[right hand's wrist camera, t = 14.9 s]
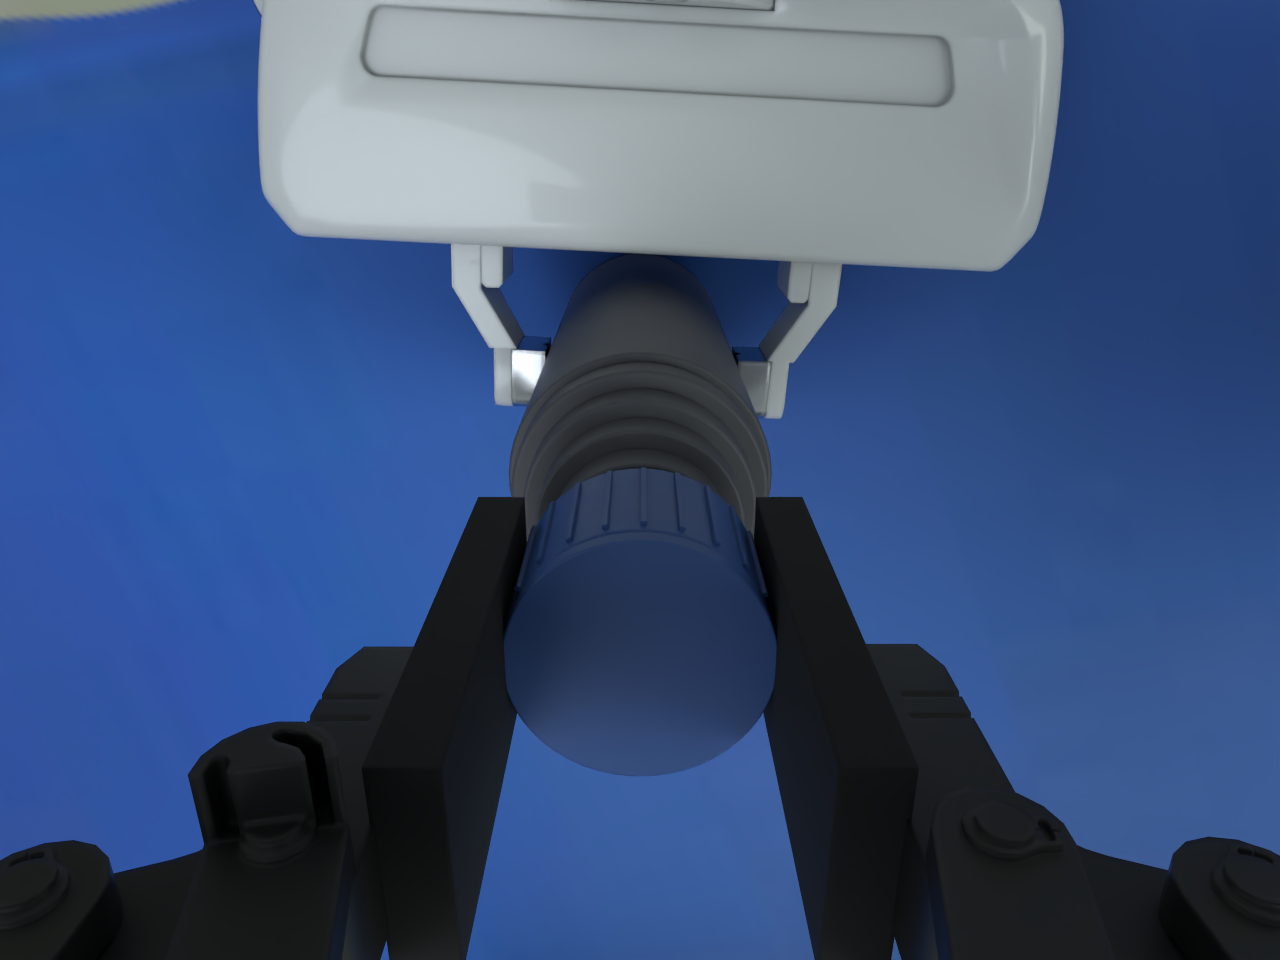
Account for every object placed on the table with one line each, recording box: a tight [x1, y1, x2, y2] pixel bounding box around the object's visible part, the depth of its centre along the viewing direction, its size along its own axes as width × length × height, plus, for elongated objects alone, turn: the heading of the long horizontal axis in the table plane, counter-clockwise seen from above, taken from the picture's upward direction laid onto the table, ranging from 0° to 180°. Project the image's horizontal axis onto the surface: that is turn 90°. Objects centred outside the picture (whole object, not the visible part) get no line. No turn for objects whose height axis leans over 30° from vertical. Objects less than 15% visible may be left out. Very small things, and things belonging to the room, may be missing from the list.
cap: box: [503, 467, 777, 776], centre depth 14 cm, size 4×4×3 cm
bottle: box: [509, 254, 771, 542], centre depth 22 cm, size 6×6×21 cm
